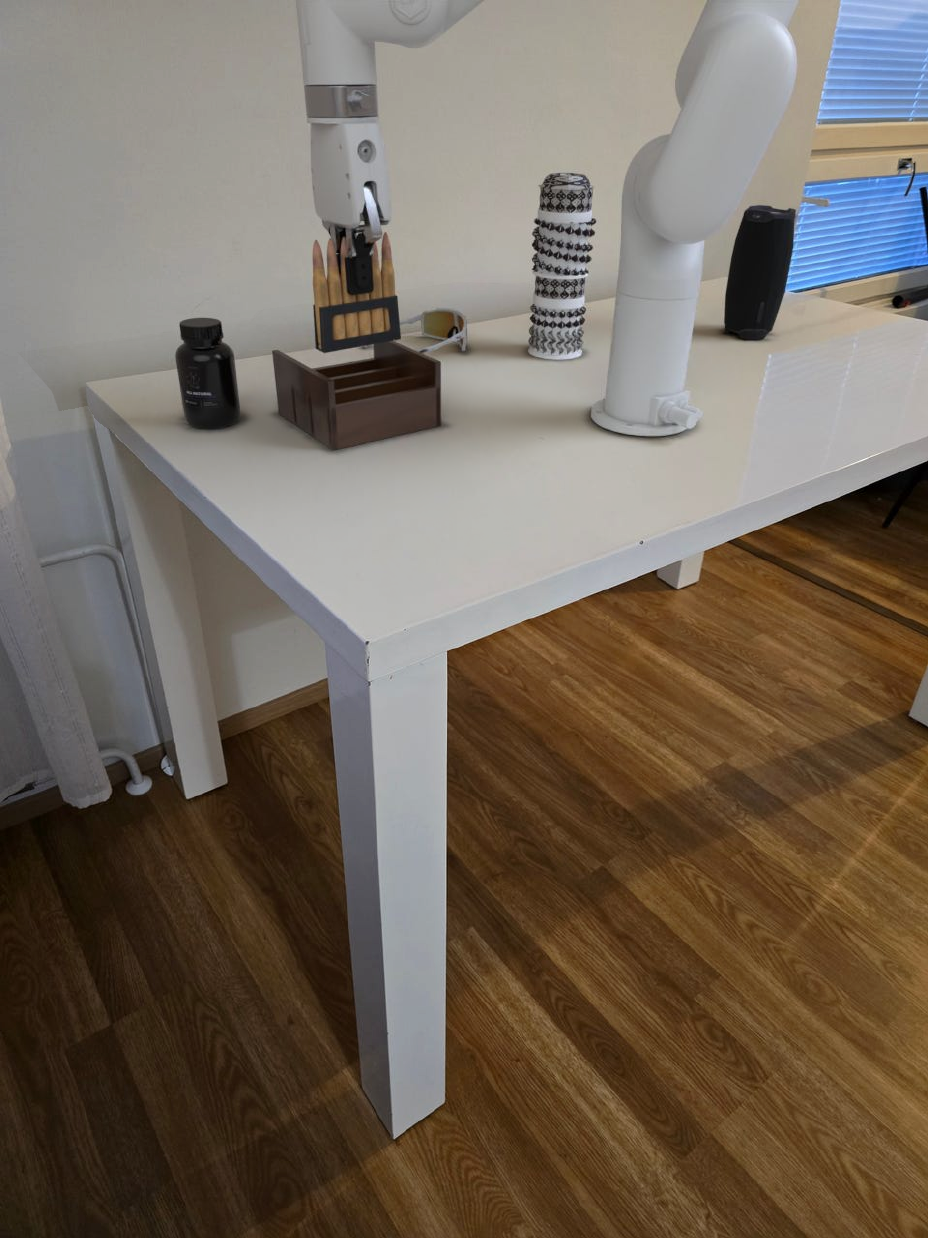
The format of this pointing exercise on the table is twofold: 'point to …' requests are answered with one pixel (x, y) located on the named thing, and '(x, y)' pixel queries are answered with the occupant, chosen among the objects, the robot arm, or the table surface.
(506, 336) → the table surface
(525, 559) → the table surface
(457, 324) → the sunglasses
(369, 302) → the ammunition clip
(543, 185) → the decorative candle
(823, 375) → the table surface
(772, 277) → the portable speaker
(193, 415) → the supplement bottle
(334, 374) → the rack
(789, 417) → the table surface
